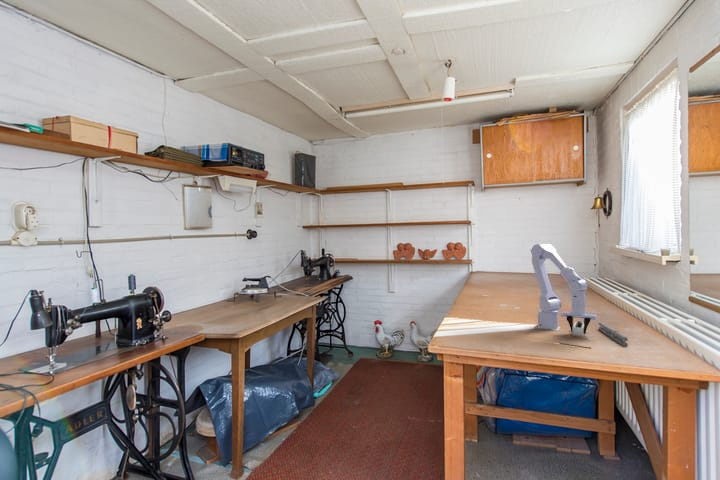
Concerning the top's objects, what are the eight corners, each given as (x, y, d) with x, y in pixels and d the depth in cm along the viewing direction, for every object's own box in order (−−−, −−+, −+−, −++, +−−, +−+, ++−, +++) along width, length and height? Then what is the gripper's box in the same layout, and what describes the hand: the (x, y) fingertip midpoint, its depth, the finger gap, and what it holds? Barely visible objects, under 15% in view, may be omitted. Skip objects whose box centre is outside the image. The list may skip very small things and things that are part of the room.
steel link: (572, 335, 173) (572, 327, 173) (574, 329, 183) (574, 321, 183) (583, 337, 170) (583, 328, 170) (585, 330, 180) (585, 322, 180)
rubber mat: (559, 344, 163) (559, 343, 163) (562, 337, 173) (562, 336, 173) (590, 348, 156) (590, 347, 156) (592, 341, 166) (592, 340, 166)
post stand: (567, 337, 172) (567, 325, 172) (571, 329, 185) (571, 318, 185) (587, 340, 168) (587, 328, 168) (589, 331, 181) (589, 320, 181)
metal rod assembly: (597, 331, 182) (597, 321, 182) (603, 331, 182) (603, 321, 182) (622, 347, 157) (622, 336, 157) (629, 348, 157) (629, 336, 157)
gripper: (560, 304, 175) (560, 332, 175) (596, 308, 166) (596, 337, 167) (562, 301, 180) (562, 328, 181) (596, 305, 172) (596, 333, 172)
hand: (578, 332), depth 174 cm, fingers closed on steel link, 4 cm apart
